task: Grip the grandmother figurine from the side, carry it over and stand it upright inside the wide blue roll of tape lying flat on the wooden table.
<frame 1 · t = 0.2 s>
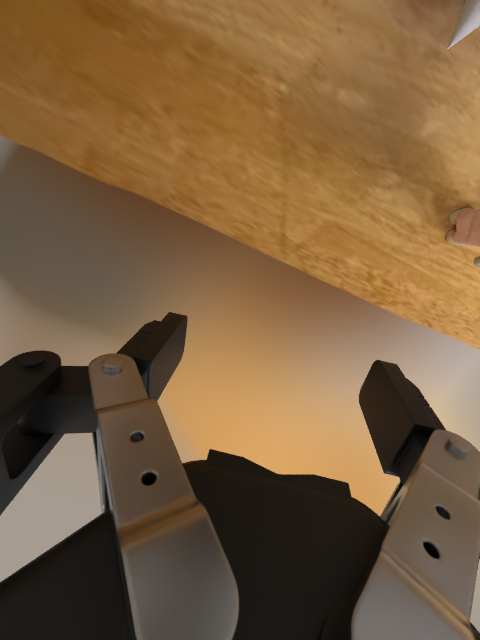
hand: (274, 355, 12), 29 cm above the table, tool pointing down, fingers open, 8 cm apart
grandmother figurine: (459, 222, 35), on the table
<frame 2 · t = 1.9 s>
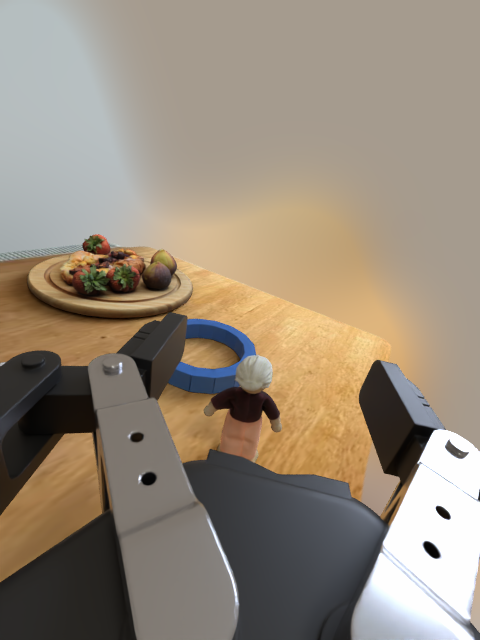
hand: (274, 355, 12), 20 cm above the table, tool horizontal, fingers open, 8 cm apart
wooden plate: (118, 286, 63), on the table
tape ring: (203, 358, 45), on the table
grandmother figurine: (232, 455, 31), on the table
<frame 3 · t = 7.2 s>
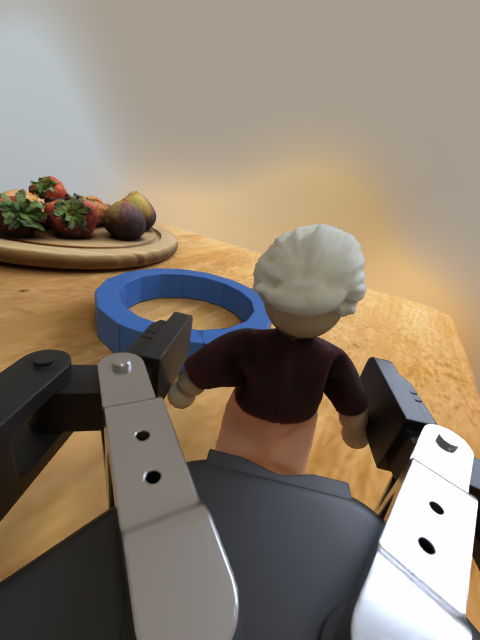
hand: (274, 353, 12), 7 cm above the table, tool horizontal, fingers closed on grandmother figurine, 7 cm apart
wooden plate: (74, 240, 46), on the table
tape ring: (186, 323, 28), on the table
grandmother figurine: (239, 500, 14), on the table, touching gripper
when the fingers open (7 cm above the table, at t = 15.5 s): grandmother figurine stays where it is, resting in tape ring.
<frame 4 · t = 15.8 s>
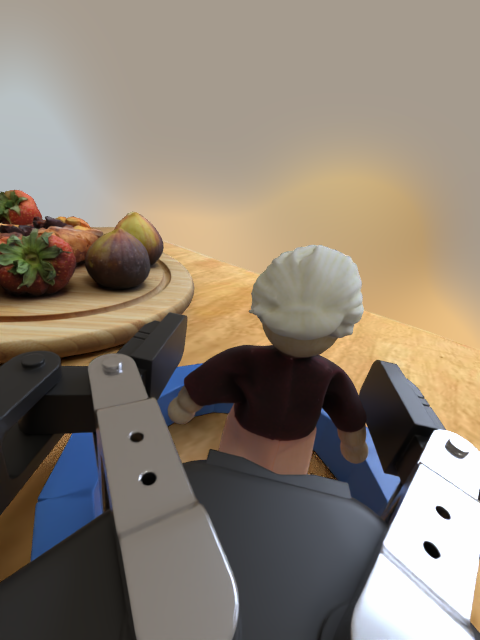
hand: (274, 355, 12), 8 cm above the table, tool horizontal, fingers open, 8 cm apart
wooden plate: (45, 284, 31), on the table
tape ring: (237, 507, 14), on the table
grandmother figurine: (239, 510, 14), resting in tape ring
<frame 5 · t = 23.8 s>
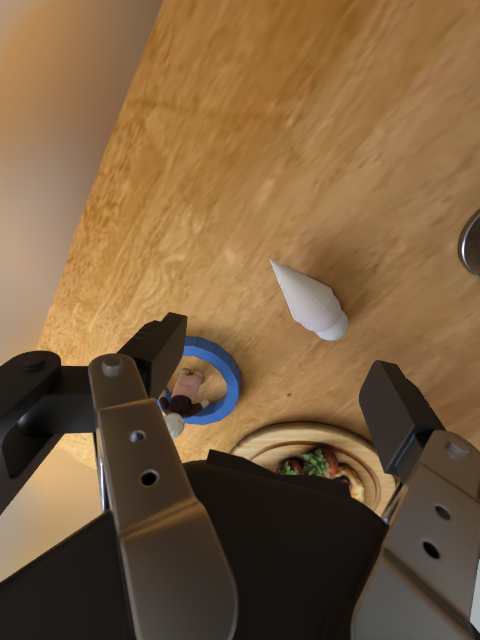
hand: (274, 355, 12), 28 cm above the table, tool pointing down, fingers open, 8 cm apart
wooden plate: (304, 480, 56), on the table
tape ring: (195, 377, 49), on the table
ice cream cone: (304, 290, 40), on the table
grandmother figurine: (194, 376, 49), resting in tape ring
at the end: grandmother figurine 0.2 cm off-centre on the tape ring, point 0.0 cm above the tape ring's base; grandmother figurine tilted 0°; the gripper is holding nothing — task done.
